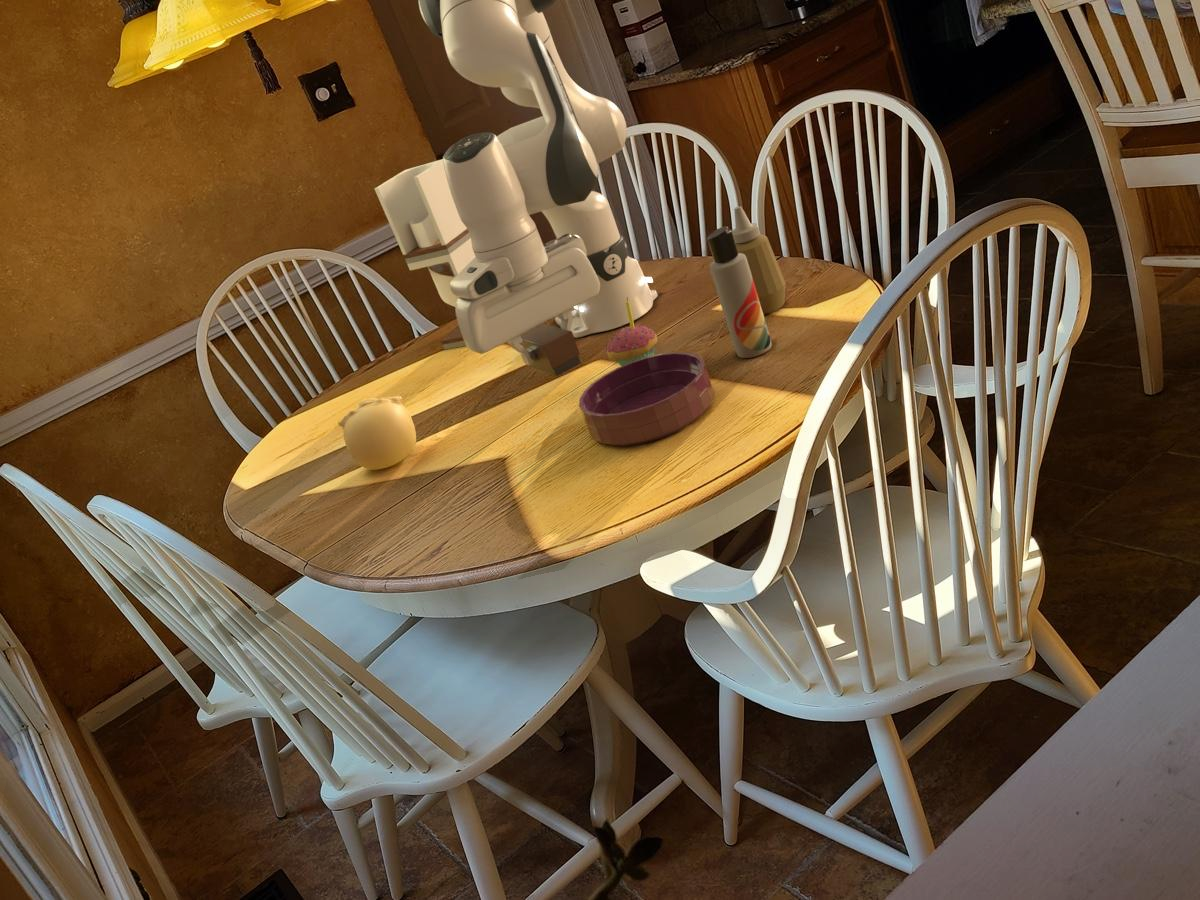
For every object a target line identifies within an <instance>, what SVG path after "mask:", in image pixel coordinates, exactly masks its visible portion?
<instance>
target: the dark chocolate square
mask: <svg viewBox="0 0 1200 900" xmlns="http://www.w3.org/2000/svg"><path fill="white" fill-rule="evenodd" d="M521 338H522V340H523V342H522V343H519V344H520V345H521V346H523V347H524V348H525V349H527V348H531V349H534V350H535V353H536V356H537V358H538V361H536V362H534V363H532V364H531V365H528V366H529V368H531V369H535V370H537V371H540V372H543V373H546V374H549V375H553V376H554V377H558V376H559V375H561V374H564V373H565V372H567V371H570V370H571V369H573V368H575V367H577V366H578V365H580V364H582V361H581V359H580V355H581V351H580V350H579V347H578V345H577V342H576V339H575V337H574V336H573V334H572V331H569V330H565V329H561V327H557V326H553V325H549V324H545V323H542V324H540V325H538V326H536V327H535V328H533V329H531V330H529V331H527V332H525V333H523V334H521Z"/></svg>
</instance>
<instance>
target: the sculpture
mask: <svg viewBox="0 0 1200 900" xmlns="http://www.w3.org/2000/svg"><path fill="white" fill-rule="evenodd" d="M337 425H339V426H340V427H341V428H342V432H343V434H342V435H343V440H344V443H345V446H346V449H347V451H348V453H349V455H350V456H351V458H352V459H353V460H354V461H355V462H356V464H357V465H359V466H360V467H362V468H363V469H367V470H371V471H373V470H374V471H375V470H382V469H386V468H389V467H392V466H394V465H396V464H398V463H400V462H401V461H403V460H405V458H406V457H408V456H409V455H410V454H411V453H412V452H413V450H414V448H415V446H416V443H417V431H416V427H415V424H414V421H413V418H412V416H411V414H410V412H409V410H408V409H407V408H406V407H405V406H404V405H403V397H402V396H401V395H393V396H385V397H381V398H378V397H377V398H376V397H368V398H364V399H363V400H361V401H360V402H359V403H358V405H356V406H355V407H354V408H353V409H351V410H349V411H348V412H347V413H346V414H345V415H344V416H342V417H341V418H340V419H339V420H338V421H337Z"/></svg>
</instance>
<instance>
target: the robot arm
mask: <svg viewBox="0 0 1200 900" xmlns="http://www.w3.org/2000/svg"><path fill="white" fill-rule="evenodd" d="M556 1H557V0H418V8H419V12H420V14H421V17H422V19H423V21H424V23H425V24H426V26H427V27H428V29H429V31H430V32H431V33H432V35H434V36H435V37H438V38H439V39H440V40H442V41H443V45H444V49H445V53H446V56H447V59H448V61H449V63H450V65H451V67H452V68H453V69H454V70H455V71H456V72H457V73H458V74H459V75H460V77H463V78H464V79H465V80H467V81H469V82H472V83H473V84H476V85H479V86H483V87H487V88H500V91H501V93H502V95H503V96H504V97H505V98H506V99H507V100H508V101H510V102H511V103H513V104H515V105H517V106H521V107H526V108H535V109H540V112H541V115H542V116H539V117H536V118H534V119H530V120H528V121H526V122H523V123H520V124H518V125H515V126H511V127H510V128H508V129H507V130H504V131H503V132H502V133H499V134H498V135H496V134H494V133H493V132H478V133H475V134H471V135H469V136H465V137H464V138H461V139H460V140H459V141H457V142H455V143H454V144H452V145H451V146H450V147H448V149H447V150H446V151H445V153H444V154H443V156H442V159H443V162H444V168H445V173H446V177H447V181H448V184H449V188H450V191H451V194H452V197H453V200H454V203H455V206H456V209H457V211H458V214H459V216H460V219H461V221H462V222H463V223H464V225H465V226H466V227H467V229H468V231H469V233H470V236H471V241H472V248H473V251H474V254H475V256H476V257H475V258H474V259H473V260H472V261H471V262H470V263H469V264H468V265H467V266H466V267H465V268H464V269H463V270H462V271H461V272H460V273H459V274H458V275H457V276H456V277H455V278H454V279H453V280H452V281H451V282H450V289H451V291H452V293H453V294H454V295H456V296H458V297H459V299H458V300H457V302H456V306H455V307H454V308H455V316H456V317H455V318H456V320H457V325H459V328H460V331H461V334H462V337H463V339H464V342H465V344H466V346H465V347H466V348H467V349H468V350H470V351H472V352H474V353H476V354H479V355H484V354H487V353H488V352H490V351H492V350H494V349H496V348H498V347H499V346H502V345H503V344H506V343H507V345H508V346H510V348H512V349H514V350H515V351H516V352H518V354H520V356H521V358H522V361H523V363H524V364H525V365H527V366H529V365H531V364H532V363H534V362H536V361H538V358H537V356H536V353H535V350H534V349H531V348H527V349H525V348H524V347H523V346H521V345H520V344H519V343H522V342H523V340H522V338H521V335H522V334H523V333H525V332H527V331H529V330H531V329H533V328H535V327H537V326H539V325H541V324H545V323H546V322H548V321H550V320H552V319H554V320H555V323H556V324H557V325H558V326H559V327H560V328H561V329H565V330H569V331H572V334H573V336H574V339H575V338H576V339H577V338H583V337H586V336H588V335H592V334H597V333H601V332H607V331H610V330H615V329H617V328H620V327H623V326H625V325H627V324H630V322H629V317H628V312H627V307H626V302H627V297H628V301H629V302H630V306H631V311H632V316H633V321H634V322H635V320H638V319H639V318H641V317H642V316H644V315H646V313H648V312H649V311H650V310H651V309H652V308H653V305H654V301H655V299H657V298H658V296H659V294H658V292H657V290H656V289H650V286H649V284H648V283H654V280H653V278H652V276H645V275H644V272H643V269H642V267H641V266H640V264H639V262H638V260H637V259H636V258H633V257H630V256H629V254H630V253H629V249H628V245H627V242H626V241H625V239H624V237H623V235H621V234H620V232H619V229H618V226H617V222H616V220H615V217H614V214H613V211H612V208H611V206H610V202H609V201H608V199H607V198H606V197H605V196H604V195H603V194H601V193H600V192H597V191H595V190H594V188H595V186H596V184H597V182H598V180H599V166H598V165H599V164H601V163H603V162H605V161H606V160H608V159H610V158H611V157H613V156H614V155H616V154H617V153H619V152H621V151H623V149H624V146H625V144H626V141H627V135H628V133H627V132H628V129H627V122H626V119H625V116H624V114H623V112H622V111H621V109H620V108H619V107H618V106H617V105H616V104H615V103H614V102H613V101H611V100H609V99H608V98H605V97H602V96H598V95H596V94H593V93H591V92H589V91H587V90H585V89H583V88H582V87H581V86H580V85H578V84H577V83H576V82H575V81H574V80H573V79H572V77H570V75H569V74H568V72H567V70H566V69H565V66H564V64H563V62H562V59H561V57H560V55H559V53H558V51H557V47H556V45H555V42H554V40H553V39H554V38H553V36H552V34H551V31H550V30H551V29H550V28H549V26H548V25H549V24H548V22H547V20H546V18H545V15H544V13H543V12H544V11H546V10H547V9H549V8H550V7H552V6H554V4H555V3H556ZM540 212H541V213H542V214H543V216H544V217H545V218H546V220H547V221H548V223H549V225H550V227H551V229H552V231H553V233H554V236H555V239H552V240H550V241H548V242H546V243H543V240H542V238H541V235H540V233H539V230H538V228H537V225H536V223H535V221H534V220H533V218H532V217H531V215H534V214H538V213H540Z"/></svg>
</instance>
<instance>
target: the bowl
mask: <svg viewBox="0 0 1200 900" xmlns="http://www.w3.org/2000/svg"><path fill="white" fill-rule="evenodd" d="M713 386H714V385H713V383H712V380H711V378H710V374H709V371H708V368H707V366H706V362H705V359H704V358H702V357H701V356H700V355H699V354H695V353H692V352H687V351H686V352H685V351H672V352H664V353H659V354H654V355H653V356H649V357H645V358H642V359H639V360H636V361H633V362H630V363H628V364H626V365H623V366H621V365H620V366H618V367H616V368H614V369H612V370H611V371H609V372H607V373H605V374H604V375H602V376H600V377H599V378H598V379H596V380H594V382H592V383H591V384H590V385H589V386H588V387H586V389H585V390H584V391H583V393H581V395H580V398H579V399H578V407H579V410H580V412H581V415H582V418H583V421H584V423H585V425H586V428H587V430H588V431H587V432H588V433H589V435H590V436H591V438H592V439H593V440H595V441H597V442H599V443H601V444H606V445H610V446H616V447H617V446H618V447H626V446H627V447H628V446H635V445H636V446H637V445H641V444H646V443H650V442H654V441H657V440H660V439H664V438H666V437H668V436H670V435H672V434H674V433H677V432H679V431H680V430H682V429H684V428H686V427H688V426H690V424H692V423H693V422H694V421H696V420H697V419H698V418H700V417H701V416H702V415H703V414H704V412H705V411H706V410H707V409H708V407H709V406H710V404H712V402H713V399H714V397H715V390H714V387H713Z"/></svg>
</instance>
